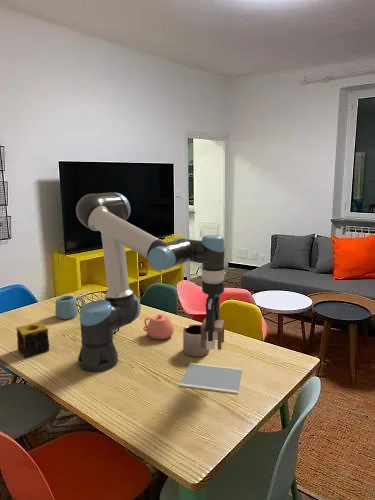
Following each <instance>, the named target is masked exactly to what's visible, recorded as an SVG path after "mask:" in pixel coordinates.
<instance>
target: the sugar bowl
mask: <svg viewBox="0 0 375 500" xmlns="http://www.w3.org/2000/svg"><path fill="white" fill-rule="evenodd" d="M147 320H149V321H148V324H147ZM143 324H144V327H143V329H142V330H143V331H144V332H146V333H147V335H148V336H149V338H151V339H153V340H154V339H155V340H166V339H168V338H170V337H171V336H172V335H173V333H174V332H175V328H174V324H173V322H172V321H171V319H170V318H169V317H168V316H167V315H164V314H162V313H158V314H156V315H154V316H152V317H145V318H144V322H143Z"/></svg>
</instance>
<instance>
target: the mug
mask: <svg viewBox="0 0 375 500" xmlns="http://www.w3.org/2000/svg"><path fill="white" fill-rule="evenodd" d="M79 299H80V300H81V304H80V307H83V306H84V305H85V304H84V302H85V300H84V298H83V297H82V296H77V297H75V296H74V295H73V296H72V295H62V296H60V297H58V298H56V300H55V313H54V314H55V317H57V318H58V319H59V320H69V319H74V318H75V317H76V316H77V315H78V308H79V307H78V304H77V301H78V300H79ZM76 304H77V306H76Z"/></svg>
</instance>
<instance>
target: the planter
mask: <svg viewBox="0 0 375 500" xmlns="http://www.w3.org/2000/svg"><path fill="white" fill-rule="evenodd" d="M201 325H202V324H190V325H187V326H185V327H184V328H183V331H182V332H183V333H182V340H183V342H182V343H183V344H182V346H183V347H182V351H183V353H184V354H185V355H187V356H190V357H198V358H199V357H200V358H201V357H203V356H206V355H208V354H209V353H210V350H211V349H207V341H205V348H201Z"/></svg>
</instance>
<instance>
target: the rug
mask: <svg viewBox="0 0 375 500" xmlns="http://www.w3.org/2000/svg"><path fill="white" fill-rule="evenodd" d="M242 374H243V368H238V367H231V366H230V367H229V366H221V365H213V364H206V363H205V364H204V363H197V362H195V363H194V362H189V364H188V367H187V369H186V370H185V372H184V375H183V377H182V379H181V380H180V383H179V385H178V386H179V387H182V388H183V387H185V388H190V389H199V390H205V391H214V392H220V393H228V394H235V395H236V394H237V395H238V394H239V389H240V384H241V379H242Z"/></svg>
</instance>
